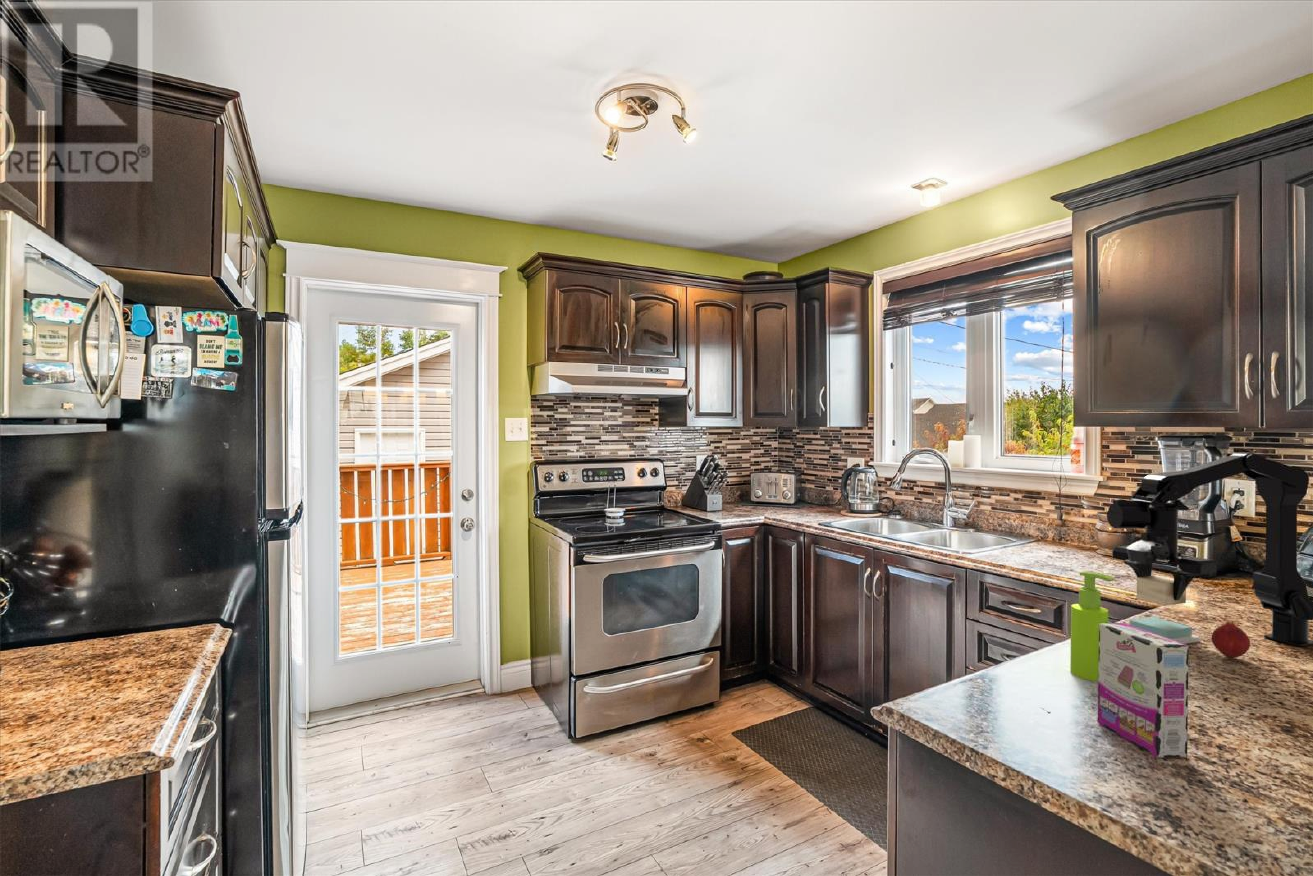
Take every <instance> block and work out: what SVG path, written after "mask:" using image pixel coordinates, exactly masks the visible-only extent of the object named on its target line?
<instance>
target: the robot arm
mask: <svg viewBox="0 0 1313 876" xmlns="http://www.w3.org/2000/svg"><path fill="white" fill-rule="evenodd" d="M1240 474H1242V475H1243V476H1244V477H1246V478H1248V479H1251V480H1253V481H1254V482H1255V485H1256V490H1257V491H1256V492H1258V495H1259V496H1260V497H1261V499H1262V500H1263V501H1264V503H1265V566H1264V567H1263V569H1262V570H1261V571H1260V572H1255V571H1254V572H1253V573H1252V582H1253V583H1252V587H1251V590H1254V595H1255V597H1256V598H1257V599H1259V602H1260V604H1261V606H1262V608H1263V609H1265V610H1270V611H1272V615H1271V616H1272V619H1271V621H1272V622H1271V625H1272V626H1271V633H1270V634H1264V635H1263V637H1264V638H1266V639H1270V640H1273V641H1277V642H1281V643H1285V644H1290V645H1293V646H1296V647H1306V646H1310V645H1313V640H1312V639H1309V621H1313V600H1312V599H1311V598H1310V597H1309V593H1308V588H1307V583H1306V582H1305V580H1304V578H1303V576H1302V575H1301V573H1300V572H1299V571H1298V556H1297V555H1298V533H1297V532H1298V507H1299V506H1298V505H1299V504H1300V503H1301V502H1302V500H1303V499H1304V498H1305V497H1306V495H1307V494H1308V488H1309V483H1310V475H1309V472H1307V471H1305V469H1303V468H1302V467H1299V466H1295V465H1287V464H1284V463H1282V462H1278V461H1276V460H1273V459H1268V458H1266V457H1264V456H1262V455H1259V454H1256V453H1254V452H1234V453H1233V454H1230V455H1229V456H1225V457H1221V458H1218V459H1215V460H1212V461H1209V462H1206V463H1203V464H1198V465H1197V466H1192V467H1190V468H1186V469H1183V470H1178V471H1177V470H1176V471H1165V472H1156V473H1149V474H1148V475H1146V476H1144V477H1143V478H1142V481H1141V482H1140V483H1141V484H1140V485H1139V487H1138V488H1137V489H1136V490H1135V491H1134V492H1133V494H1132V495H1131V496H1130V497H1129V499H1123V498H1114V499H1112V504H1111V505H1109V507H1108V509H1107V511H1106V520H1107V522H1108V524H1109V526H1110V527H1112V528H1113V529H1125V530H1127V529H1129V530H1130V529H1135V530H1136V529H1137V530H1142V529H1145V531H1143V532H1141V534H1140V540H1137V541H1135V542H1133V543H1131V544H1130V545H1122V546H1121V545H1120V546H1119V545H1118V546H1114V547H1113V549H1112V551H1111V558H1112V559H1113V560H1114V559H1116V560H1122V561H1123V563H1124V565H1128V566H1129V567H1130V568H1131V569H1132V570H1133V573H1134V574H1135V576H1136V579H1137V578H1138V577H1146V576H1152V572H1153V564H1154V563H1156V564H1157V563H1158V564H1164V565H1170V566H1173V567H1177V568H1176V570H1170V573H1171V576H1172V578H1173V579H1174V588H1173V595H1174V600H1179V599H1180V598H1181V596H1182V594H1183V593H1184V591H1185V589H1186V590H1187V588H1188V586H1189V585H1190V583H1191V582H1192V581H1193V580H1194V578H1195V577H1196V576H1197V575H1202V576H1203V575H1209V574H1217V564H1216V563H1215V561H1214V559H1209V558H1202V557H1196V556H1193V557H1182V552H1181V551H1178V550H1179V549H1178V548H1179V547H1178V546H1179V544H1178V543H1179V542H1178V540H1182V534H1180V533H1179V531H1178V530H1179V511H1189V510H1190V508H1189V506H1187V505H1186V504H1184V503H1183V502H1182V501H1181V498H1184V497H1185V496H1187V495H1190V493H1192V492H1193V491H1194V490H1195V489H1196V488H1198V487H1202V486H1204V485H1207V484H1211V483H1214V482H1217V481H1221V480H1223V479H1227V478H1230V477H1233V476H1237V475H1240Z"/></svg>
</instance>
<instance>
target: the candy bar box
mask: <svg viewBox="0 0 1313 876" xmlns="http://www.w3.org/2000/svg"><path fill="white" fill-rule="evenodd" d="M1189 648H1190V646H1189V645H1188V644H1182V643H1180V642H1177V641H1174V640H1171V639H1169V638H1166V637H1163V636H1160V635H1157V634H1154V633H1152V632H1149V631H1146V630H1143V629H1140V628H1137V627H1134V626H1132V625H1130V623H1129V624H1128V623H1125V622H1111V623H1110V622H1108V623H1101V624H1099V662H1098V681H1097V683H1098V685H1097V687H1098V689H1097V690H1098V691H1097V724H1098V725H1100V726H1101V727H1103V728H1105V729H1106V730H1108V731H1111V732H1112V733H1113V734H1115V735H1116V736H1119V737H1121V738H1122V739H1124V740H1126V741H1127V742H1129V743H1131V744H1132V745H1134V746H1136V747H1138V748H1139V749H1141V750H1143V751H1144V752H1146V753H1148V754H1150V755H1151V756H1153V757H1155V758H1157V759H1184V758H1188V739H1189V738H1188V727H1189V725H1188V720H1189V719H1188V716H1189V707H1188V706H1189V660H1190V659H1189V656H1190V655H1189V653H1190V652H1189V651H1190V650H1189Z"/></svg>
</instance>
